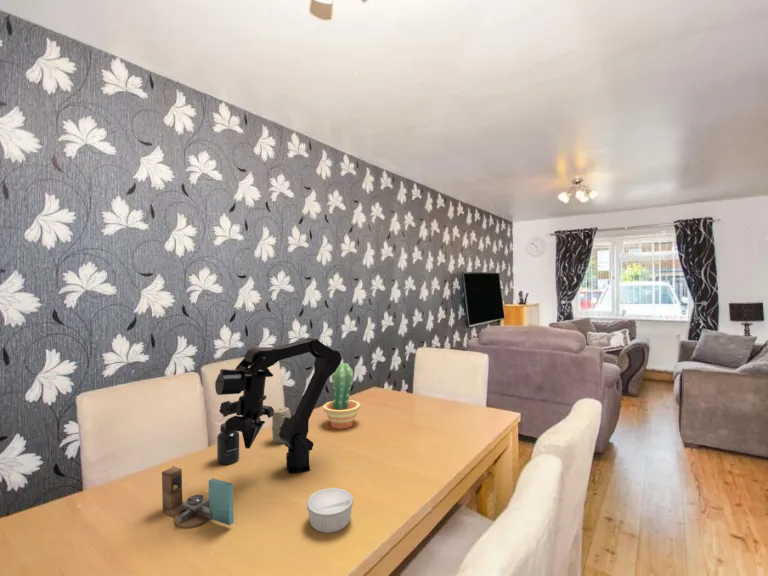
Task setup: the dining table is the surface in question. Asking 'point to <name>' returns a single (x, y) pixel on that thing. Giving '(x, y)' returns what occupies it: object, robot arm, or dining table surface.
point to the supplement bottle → (227, 446)
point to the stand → (177, 498)
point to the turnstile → (211, 503)
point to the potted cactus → (342, 399)
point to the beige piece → (279, 422)
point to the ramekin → (330, 509)
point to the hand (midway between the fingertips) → (247, 448)
